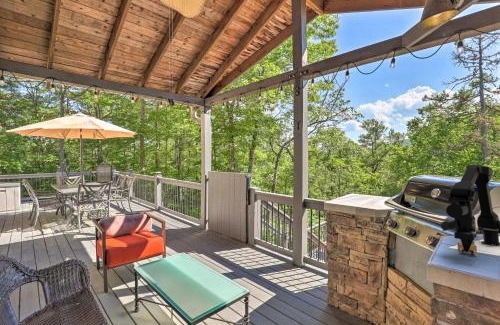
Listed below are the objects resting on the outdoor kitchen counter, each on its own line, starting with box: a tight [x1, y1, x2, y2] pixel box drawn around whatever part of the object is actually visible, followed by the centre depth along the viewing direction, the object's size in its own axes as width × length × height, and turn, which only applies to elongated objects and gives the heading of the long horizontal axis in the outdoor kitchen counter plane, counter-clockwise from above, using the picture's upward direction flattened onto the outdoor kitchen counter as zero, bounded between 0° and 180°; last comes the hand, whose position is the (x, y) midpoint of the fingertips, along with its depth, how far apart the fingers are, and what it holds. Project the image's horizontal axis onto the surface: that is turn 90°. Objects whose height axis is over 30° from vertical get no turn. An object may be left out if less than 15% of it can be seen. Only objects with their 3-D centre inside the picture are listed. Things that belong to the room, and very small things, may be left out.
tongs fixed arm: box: [461, 240, 476, 257], centre depth 124 cm, size 20×4×2 cm, turn 139°
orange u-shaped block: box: [456, 242, 478, 257], centre depth 118 cm, size 3×6×4 cm, turn 49°
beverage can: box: [471, 214, 477, 238], centre depth 146 cm, size 7×7×12 cm
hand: (466, 251), depth 113 cm, fingers closed
